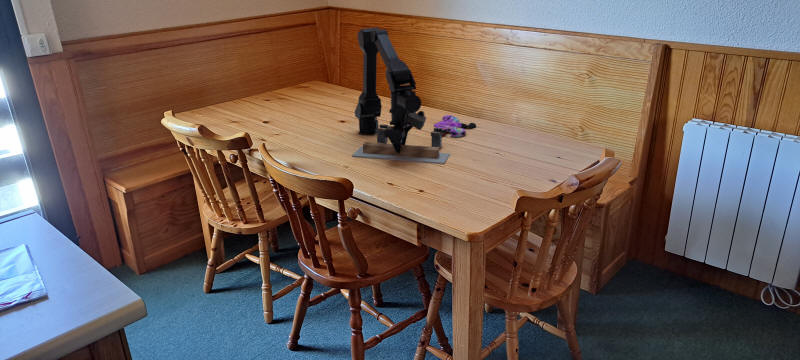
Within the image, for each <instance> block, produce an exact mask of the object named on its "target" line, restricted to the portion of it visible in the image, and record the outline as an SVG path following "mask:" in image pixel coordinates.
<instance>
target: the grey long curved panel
mask: <svg viewBox="0 0 800 360" xmlns="http://www.w3.org/2000/svg"><path fill="white" fill-rule="evenodd" d="M450 155H451V154H450V153H447V152H439V157H438V159H433V158H420V157H407V156H394V155H382V154H369V153H363V146H360V147H359V148H358V149H357V150H356V151H355V152H354V153H353V154H352V155H351V157H352V158H361V159H362V158H364V159H373V160H375V159H376V160H387V161H388V160H389V161H400V162H402V161H403V162H412V163H413V162H415V163H423V164H437V165H438V164H439V165H446V162H447V161H448V159H449V157H450Z"/></svg>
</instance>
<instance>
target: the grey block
mask: <svg viewBox="0 0 800 360" xmlns="http://www.w3.org/2000/svg"><path fill="white" fill-rule="evenodd" d="M439 132H443V128H435V127H434V128H433V131H431V132H430V136H431V147H439V150H441V148H442V146H443V145H442V144H443V142H442V140H443V134H442V133H439Z"/></svg>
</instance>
